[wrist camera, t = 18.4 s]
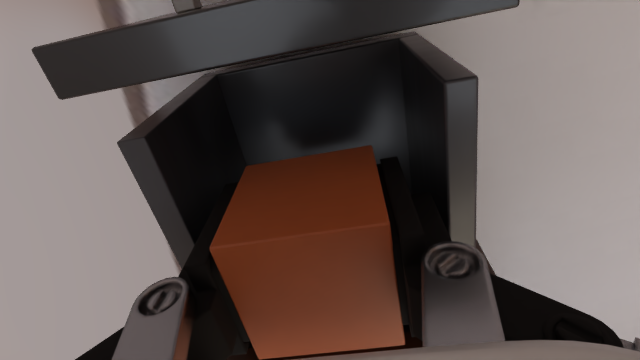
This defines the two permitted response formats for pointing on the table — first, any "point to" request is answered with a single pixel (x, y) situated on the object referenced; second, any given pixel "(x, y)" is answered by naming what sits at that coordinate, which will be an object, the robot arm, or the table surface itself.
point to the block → (311, 256)
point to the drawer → (285, 98)
